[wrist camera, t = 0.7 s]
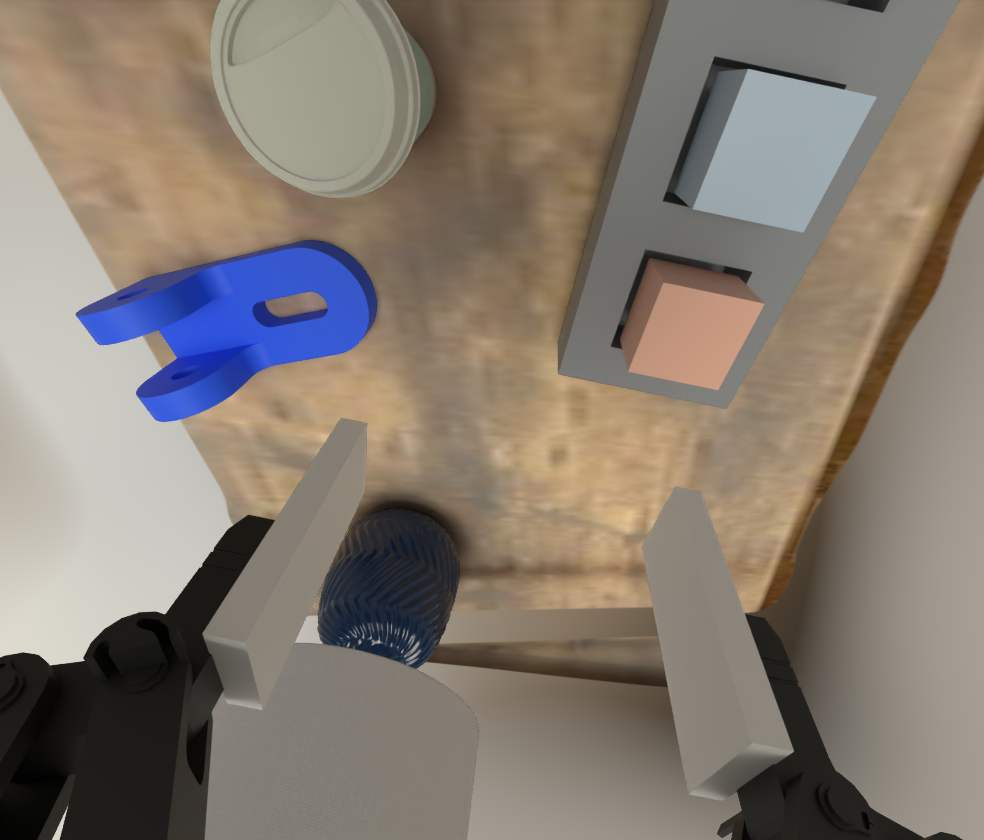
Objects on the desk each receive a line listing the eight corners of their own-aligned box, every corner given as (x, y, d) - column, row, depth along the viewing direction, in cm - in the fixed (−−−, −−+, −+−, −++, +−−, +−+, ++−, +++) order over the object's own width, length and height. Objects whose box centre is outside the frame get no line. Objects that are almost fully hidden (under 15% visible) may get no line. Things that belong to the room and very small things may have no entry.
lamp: (540, 533, 49) (518, 1216, 20) (435, 611, 60) (317, 1135, 30) (372, 429, 44) (-18, 1165, 14) (289, 536, 54) (-35, 1088, 24)
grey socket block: (742, -312, 19) (793, -418, 15) (1026, -248, 19) (1152, -337, 15) (557, 342, 37) (558, 374, 33) (707, 373, 37) (726, 409, 33)
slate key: (717, 71, 23) (748, 68, 19) (826, 95, 23) (877, 96, 19) (673, 192, 26) (692, 209, 22) (769, 212, 26) (803, 232, 22)
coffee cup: (470, 14, 26) (420, -28, 16) (448, 181, 31) (399, 225, 21) (317, -25, 26) (174, -91, 16) (320, 150, 31) (211, 180, 21)
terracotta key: (649, 257, 28) (663, 282, 24) (738, 276, 28) (764, 303, 24) (619, 338, 31) (628, 371, 28) (699, 355, 31) (718, 390, 28)
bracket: (206, 367, 42) (133, 426, 35) (148, 277, 38) (50, 323, 30) (392, 334, 38) (353, 393, 31) (352, 228, 34) (296, 268, 26)
